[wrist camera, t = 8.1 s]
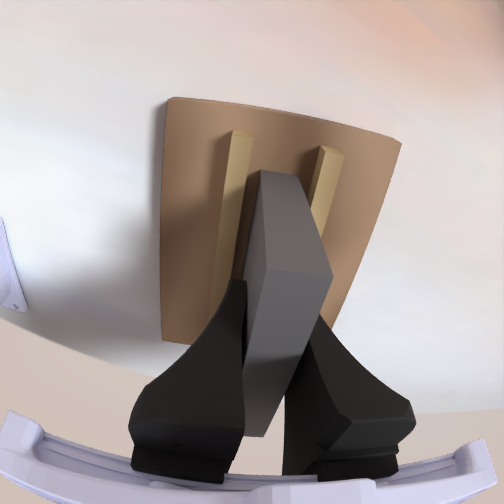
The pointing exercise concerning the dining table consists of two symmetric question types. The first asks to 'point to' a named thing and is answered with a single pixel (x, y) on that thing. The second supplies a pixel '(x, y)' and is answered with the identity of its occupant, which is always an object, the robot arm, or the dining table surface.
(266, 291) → the grey upright slab
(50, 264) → the dining table surface
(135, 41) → the dining table surface
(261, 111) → the board
